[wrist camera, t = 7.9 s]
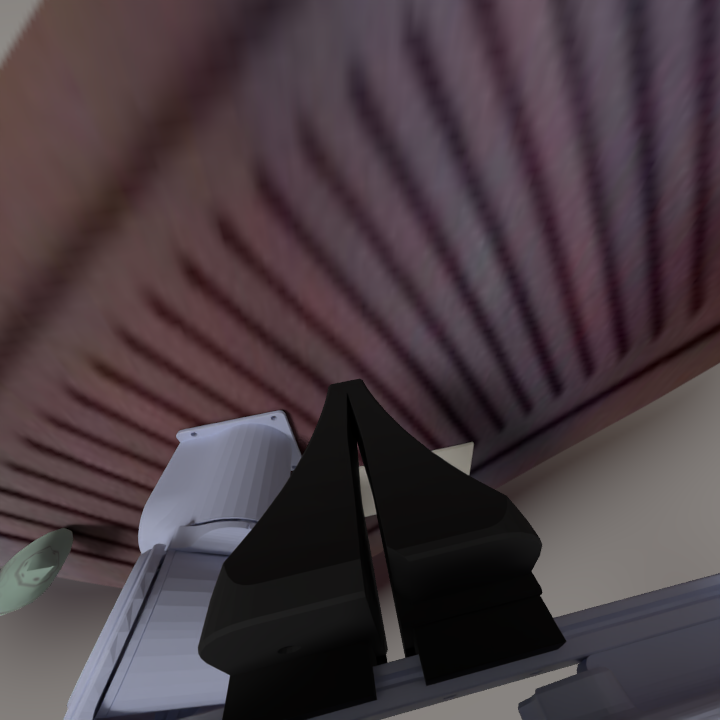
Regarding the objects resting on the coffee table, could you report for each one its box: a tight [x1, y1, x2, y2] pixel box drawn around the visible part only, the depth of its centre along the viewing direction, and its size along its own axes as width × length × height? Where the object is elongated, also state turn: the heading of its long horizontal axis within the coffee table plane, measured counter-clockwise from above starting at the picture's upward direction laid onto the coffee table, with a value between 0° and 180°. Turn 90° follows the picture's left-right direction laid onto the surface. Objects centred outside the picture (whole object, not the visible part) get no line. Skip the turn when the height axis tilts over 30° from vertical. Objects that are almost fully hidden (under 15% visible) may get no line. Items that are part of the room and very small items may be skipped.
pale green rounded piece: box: [0, 528, 73, 616], centre depth 24 cm, size 8×4×7 cm, turn 138°
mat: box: [359, 442, 474, 517], centre depth 32 cm, size 18×10×1 cm, turn 98°
